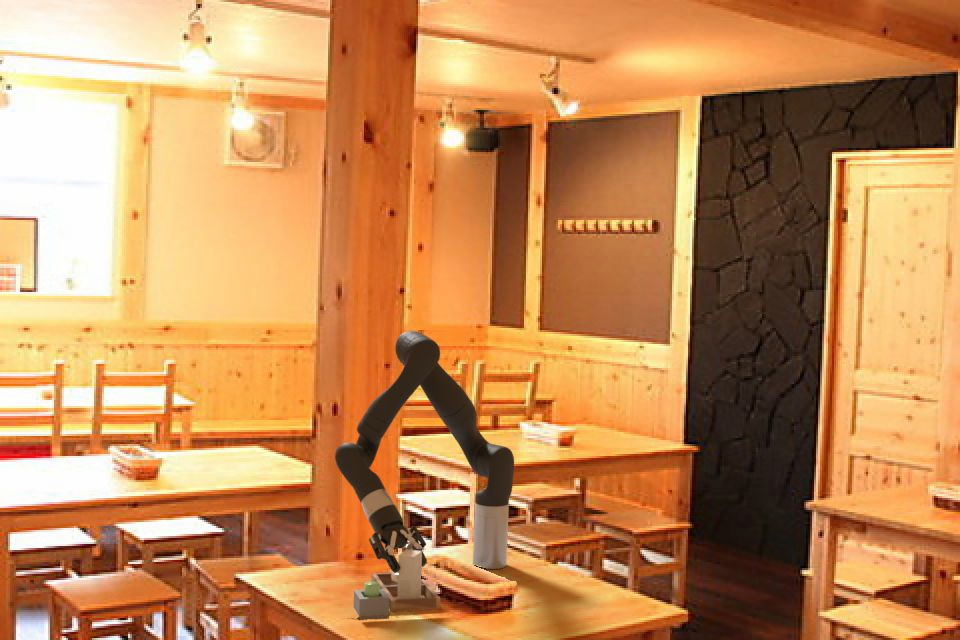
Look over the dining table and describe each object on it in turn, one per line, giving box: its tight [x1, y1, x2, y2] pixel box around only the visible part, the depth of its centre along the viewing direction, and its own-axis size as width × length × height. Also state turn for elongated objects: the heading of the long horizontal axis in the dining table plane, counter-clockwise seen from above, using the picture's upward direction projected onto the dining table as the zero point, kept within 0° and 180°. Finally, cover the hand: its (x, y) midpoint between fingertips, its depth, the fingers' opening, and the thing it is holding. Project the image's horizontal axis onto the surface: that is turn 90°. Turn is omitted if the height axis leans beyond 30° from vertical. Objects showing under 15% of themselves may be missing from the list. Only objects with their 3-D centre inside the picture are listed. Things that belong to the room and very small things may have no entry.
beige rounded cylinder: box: [390, 571, 398, 585], centre depth 302 cm, size 4×4×4 cm
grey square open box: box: [353, 589, 390, 621], centre depth 284 cm, size 7×7×5 cm
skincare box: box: [397, 549, 423, 599], centre depth 291 cm, size 6×4×12 cm
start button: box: [363, 580, 380, 597], centre depth 283 cm, size 4×4×4 cm
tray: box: [371, 572, 441, 612], centre depth 297 cm, size 23×12×4 cm, turn 17°
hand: (411, 568), depth 291 cm, fingers open, 8 cm apart
